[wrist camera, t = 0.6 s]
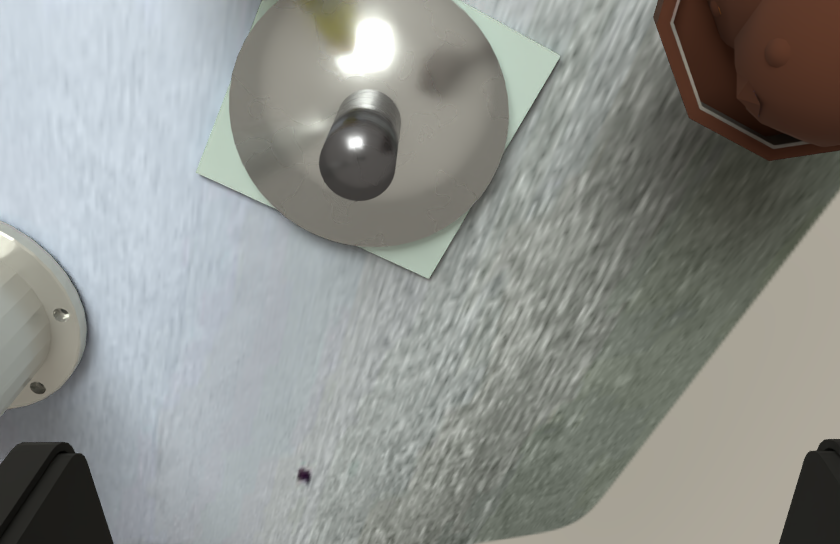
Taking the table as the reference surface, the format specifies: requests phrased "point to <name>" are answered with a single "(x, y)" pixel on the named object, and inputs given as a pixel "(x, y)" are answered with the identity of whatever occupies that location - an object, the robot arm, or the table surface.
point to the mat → (524, 80)
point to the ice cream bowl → (758, 70)
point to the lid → (369, 116)
